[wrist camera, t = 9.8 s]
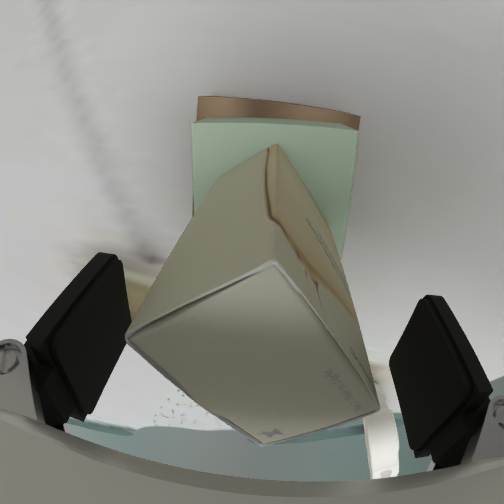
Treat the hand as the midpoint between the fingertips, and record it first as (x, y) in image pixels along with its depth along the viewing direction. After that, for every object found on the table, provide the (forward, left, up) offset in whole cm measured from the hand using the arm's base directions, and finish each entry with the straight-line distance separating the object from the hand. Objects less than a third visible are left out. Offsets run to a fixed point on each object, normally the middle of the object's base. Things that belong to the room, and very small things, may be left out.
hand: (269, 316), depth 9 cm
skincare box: (0, 0, -10) cm, 10 cm away
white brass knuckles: (-19, +31, -18) cm, 41 cm away
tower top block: (0, 0, -14) cm, 14 cm away
